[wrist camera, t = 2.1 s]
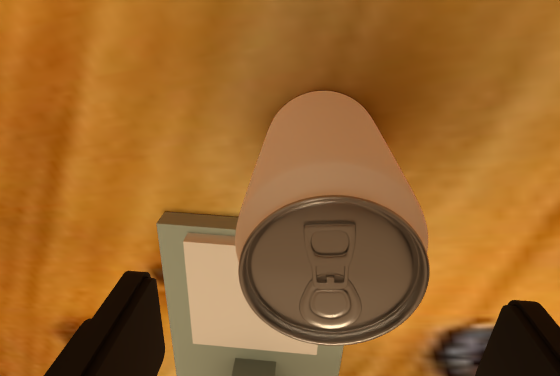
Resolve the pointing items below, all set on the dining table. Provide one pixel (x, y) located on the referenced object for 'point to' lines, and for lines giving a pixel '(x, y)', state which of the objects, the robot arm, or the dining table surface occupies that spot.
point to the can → (330, 227)
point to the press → (223, 308)
